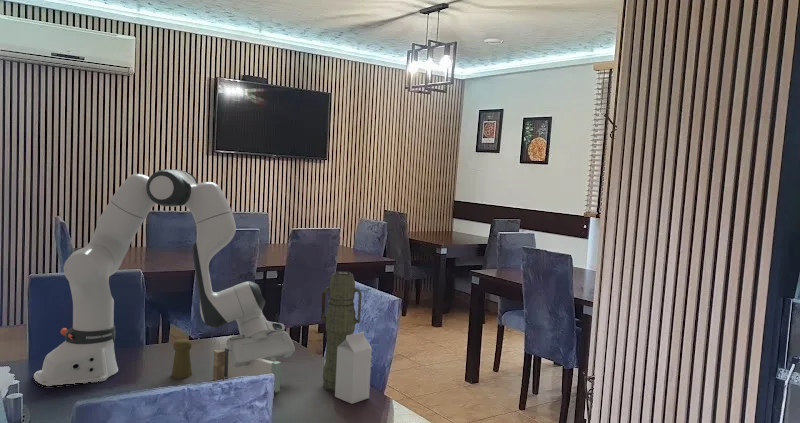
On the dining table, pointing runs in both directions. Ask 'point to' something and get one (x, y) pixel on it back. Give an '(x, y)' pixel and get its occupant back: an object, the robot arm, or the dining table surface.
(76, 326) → the robot arm
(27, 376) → the dining table surface
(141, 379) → the dining table surface
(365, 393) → the milk carton
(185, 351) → the cork
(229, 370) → the gate
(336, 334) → the thermos
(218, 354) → the gate post
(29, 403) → the dining table surface
